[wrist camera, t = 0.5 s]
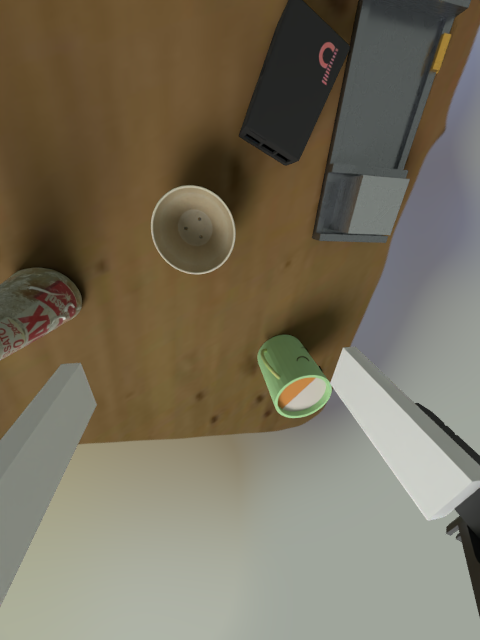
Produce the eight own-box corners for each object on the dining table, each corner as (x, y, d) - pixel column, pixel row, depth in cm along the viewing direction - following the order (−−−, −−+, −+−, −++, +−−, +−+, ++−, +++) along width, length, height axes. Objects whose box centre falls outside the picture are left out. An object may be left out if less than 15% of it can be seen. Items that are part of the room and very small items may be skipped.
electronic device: (238, 136, 28) (245, 125, 24) (275, 27, 24) (293, -11, 20) (285, 166, 31) (299, 160, 27) (326, 71, 27) (351, 46, 23)
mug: (312, 347, 48) (344, 387, 37) (280, 378, 51) (301, 424, 40) (272, 318, 42) (296, 357, 32) (238, 355, 45) (251, 401, 35)
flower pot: (236, 203, 32) (246, 204, 26) (218, 268, 36) (222, 282, 30) (166, 176, 29) (158, 169, 23) (154, 250, 33) (145, 262, 27)
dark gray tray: (361, -13, 24) (402, -66, 19) (453, 11, 26) (511, -31, 21) (311, 238, 36) (329, 243, 31) (377, 240, 38) (403, 245, 34)
